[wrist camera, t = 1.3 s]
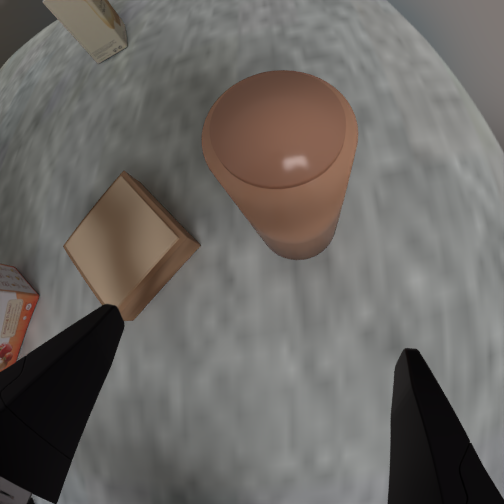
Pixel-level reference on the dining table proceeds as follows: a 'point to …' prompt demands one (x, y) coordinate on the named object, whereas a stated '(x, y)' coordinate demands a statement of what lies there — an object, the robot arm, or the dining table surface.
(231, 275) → the dining table surface
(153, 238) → the plinth
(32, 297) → the cracker box
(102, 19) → the skincare box
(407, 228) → the dining table surface
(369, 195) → the dining table surface
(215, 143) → the tan lidded canister
